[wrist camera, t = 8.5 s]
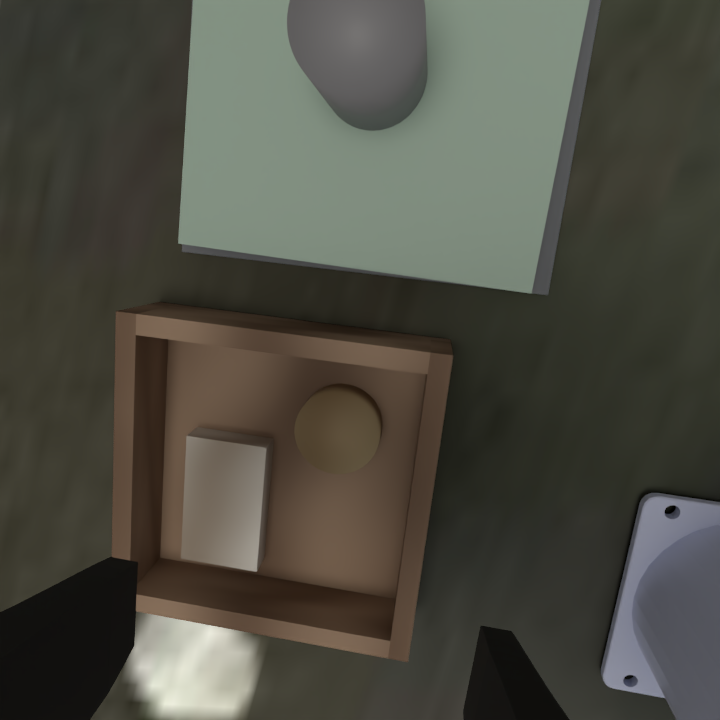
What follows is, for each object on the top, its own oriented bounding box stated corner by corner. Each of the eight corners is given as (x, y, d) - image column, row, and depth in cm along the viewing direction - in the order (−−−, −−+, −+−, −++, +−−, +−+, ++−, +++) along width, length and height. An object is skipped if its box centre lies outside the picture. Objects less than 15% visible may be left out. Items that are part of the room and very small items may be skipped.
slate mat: (624, -143, 17) (628, -152, 16) (545, 294, 20) (547, 295, 19) (204, -160, 18) (198, -169, 18) (186, 251, 21) (181, 251, 21)
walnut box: (450, 339, 20) (453, 355, 17) (411, 608, 23) (408, 662, 20) (159, 302, 21) (115, 311, 19) (150, 561, 24) (110, 606, 21)
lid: (599, -101, 17) (683, -275, 11) (523, 289, 19) (560, 308, 14) (223, -129, 18) (126, -300, 12) (197, 243, 20) (107, 243, 15)
